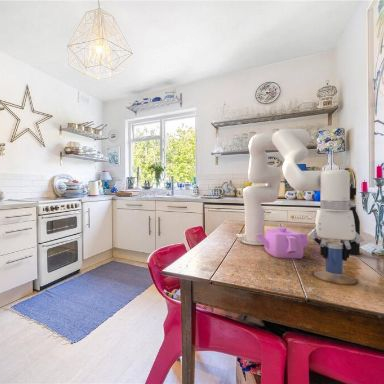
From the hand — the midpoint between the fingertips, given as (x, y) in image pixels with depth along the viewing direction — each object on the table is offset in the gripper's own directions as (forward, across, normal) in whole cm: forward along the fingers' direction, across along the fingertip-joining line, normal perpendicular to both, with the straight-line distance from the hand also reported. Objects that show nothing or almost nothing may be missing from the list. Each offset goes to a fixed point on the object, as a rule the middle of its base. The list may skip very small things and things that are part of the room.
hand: (334, 258), depth 81 cm
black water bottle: (+7, -12, -40) cm, 42 cm away
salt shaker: (+5, 0, 0) cm, 5 cm away
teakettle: (+7, +15, -24) cm, 29 cm away
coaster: (+7, 0, 0) cm, 7 cm away
